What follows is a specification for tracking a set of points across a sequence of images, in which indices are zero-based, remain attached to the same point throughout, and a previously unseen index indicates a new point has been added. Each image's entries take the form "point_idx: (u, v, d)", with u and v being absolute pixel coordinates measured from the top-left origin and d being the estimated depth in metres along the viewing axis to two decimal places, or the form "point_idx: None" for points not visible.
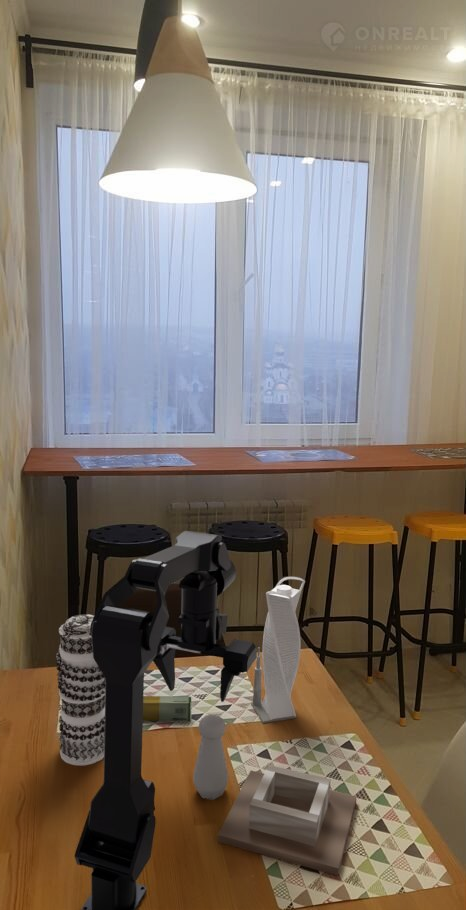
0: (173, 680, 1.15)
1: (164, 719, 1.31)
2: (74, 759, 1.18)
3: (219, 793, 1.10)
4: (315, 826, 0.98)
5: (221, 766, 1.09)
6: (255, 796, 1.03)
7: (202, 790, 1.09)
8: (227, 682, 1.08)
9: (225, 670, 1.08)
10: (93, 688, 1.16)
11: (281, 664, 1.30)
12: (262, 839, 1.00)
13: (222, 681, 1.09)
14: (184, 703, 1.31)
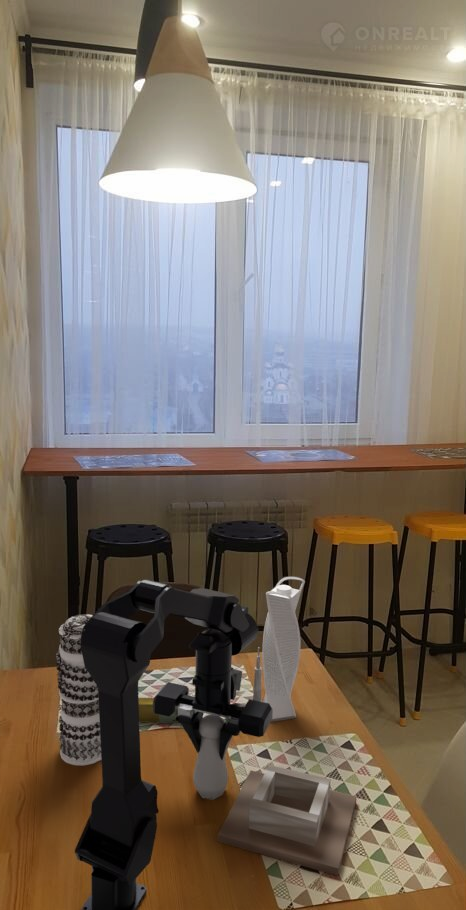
0: None
1: (164, 721, 1.31)
2: (74, 759, 1.18)
3: (219, 793, 1.10)
4: (315, 826, 0.98)
5: (221, 765, 1.09)
6: (255, 796, 1.03)
7: (202, 790, 1.09)
8: (226, 741, 1.06)
9: (224, 730, 1.06)
10: (93, 688, 1.16)
11: (281, 664, 1.30)
12: (262, 839, 1.00)
13: (221, 740, 1.07)
14: None
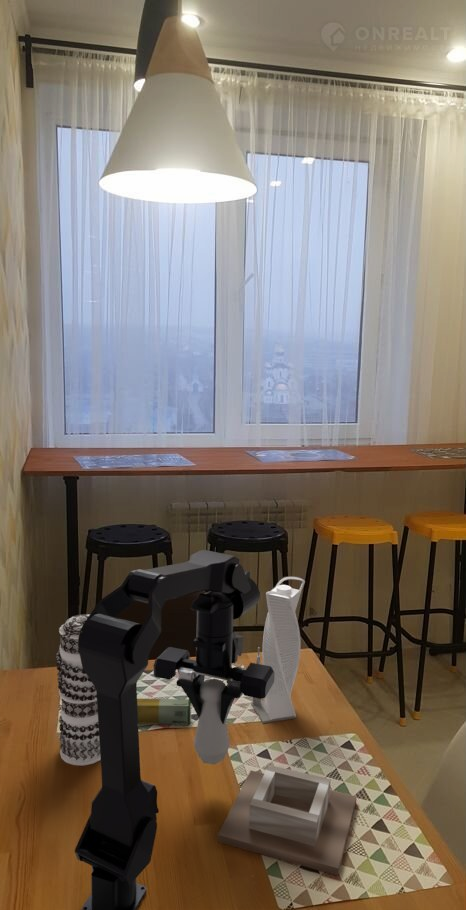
0: None
1: (164, 722, 1.30)
2: (74, 759, 1.18)
3: (220, 757, 1.08)
4: (315, 826, 0.98)
5: (223, 730, 1.08)
6: (255, 796, 1.03)
7: (203, 754, 1.08)
8: (227, 704, 1.05)
9: (225, 692, 1.05)
10: (93, 688, 1.16)
11: (281, 664, 1.30)
12: (262, 839, 1.00)
13: (222, 703, 1.06)
14: (184, 706, 1.30)
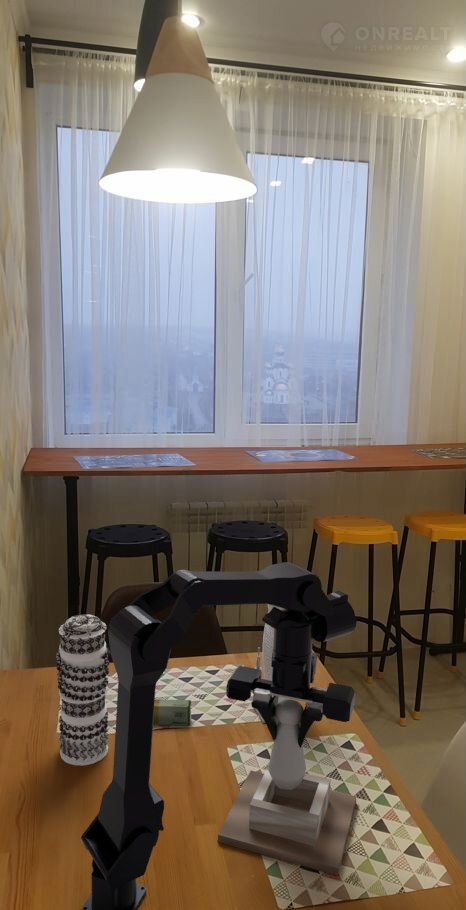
0: None
1: (163, 723, 1.30)
2: (74, 759, 1.18)
3: (297, 782, 1.03)
4: (315, 826, 0.98)
5: (300, 753, 1.02)
6: (255, 796, 1.03)
7: (280, 780, 1.02)
8: (307, 728, 0.99)
9: (306, 715, 0.99)
10: (93, 688, 1.16)
11: None
12: (262, 839, 1.00)
13: (302, 726, 1.00)
14: (183, 707, 1.30)
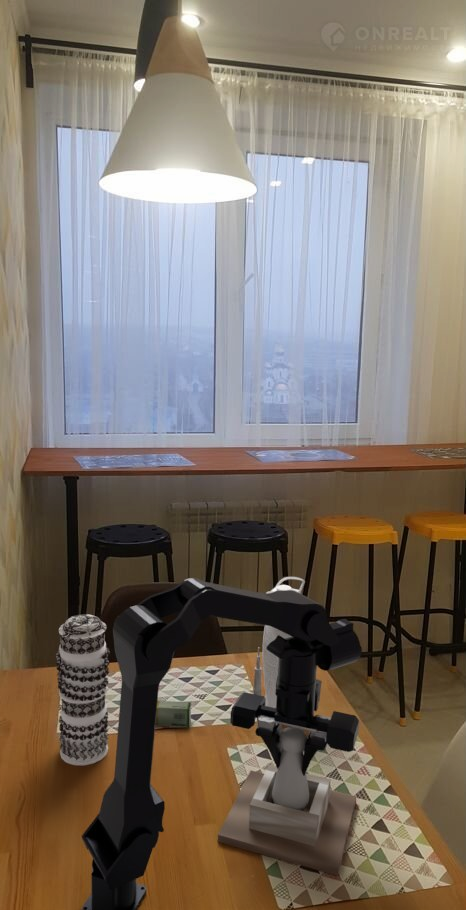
0: None
1: (163, 724, 1.30)
2: (74, 759, 1.18)
3: (301, 810, 1.03)
4: (315, 826, 0.98)
5: (304, 781, 1.03)
6: (255, 796, 1.03)
7: None
8: (311, 756, 1.00)
9: (309, 744, 0.99)
10: (93, 688, 1.16)
11: None
12: (262, 839, 1.00)
13: (305, 755, 1.00)
14: (183, 709, 1.29)
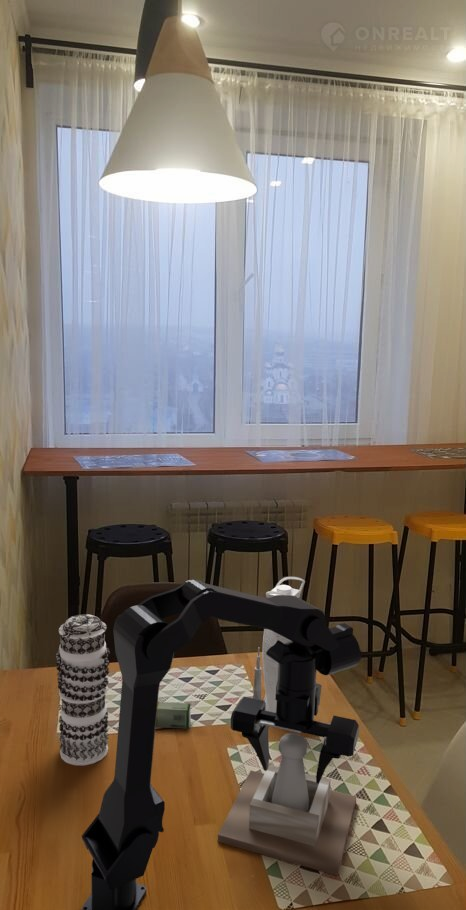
0: (267, 759, 1.05)
1: (162, 726, 1.29)
2: (74, 759, 1.18)
3: None
4: (315, 826, 0.98)
5: (303, 788, 1.03)
6: (255, 796, 1.03)
7: None
8: (326, 764, 0.99)
9: (324, 752, 0.98)
10: (93, 688, 1.16)
11: None
12: (262, 839, 1.00)
13: (320, 763, 0.99)
14: (182, 710, 1.29)
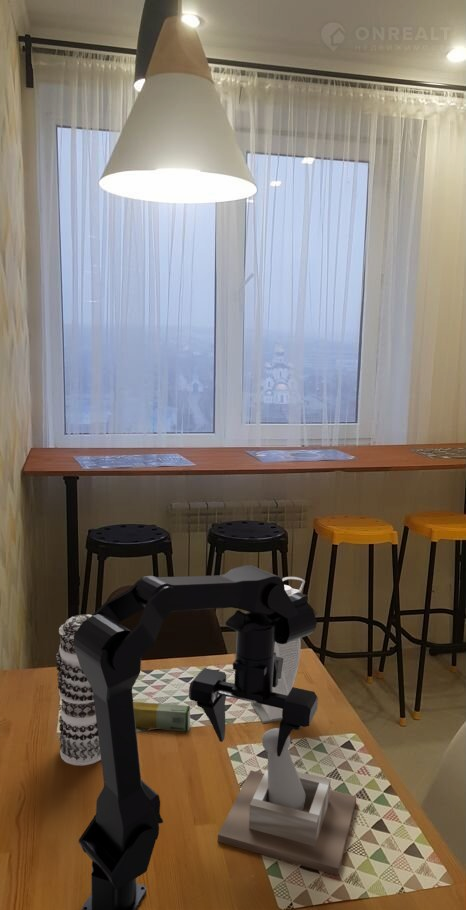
0: (223, 730, 1.04)
1: (161, 727, 1.29)
2: (74, 759, 1.18)
3: None
4: (315, 826, 0.98)
5: (295, 780, 1.03)
6: (255, 796, 1.03)
7: None
8: (286, 736, 0.98)
9: (284, 723, 0.97)
10: None
11: None
12: (262, 839, 1.00)
13: (280, 735, 0.98)
14: (181, 712, 1.28)
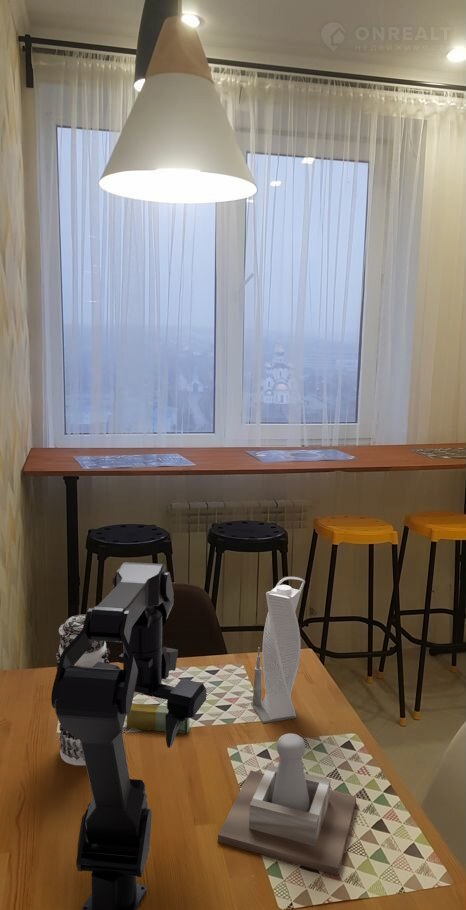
0: None
1: (161, 729, 1.28)
2: (74, 759, 1.18)
3: None
4: (315, 826, 0.98)
5: (303, 788, 1.02)
6: (255, 796, 1.03)
7: None
8: (172, 727, 0.99)
9: (170, 715, 0.98)
10: None
11: (281, 664, 1.30)
12: (262, 839, 1.00)
13: (167, 726, 0.99)
14: None
